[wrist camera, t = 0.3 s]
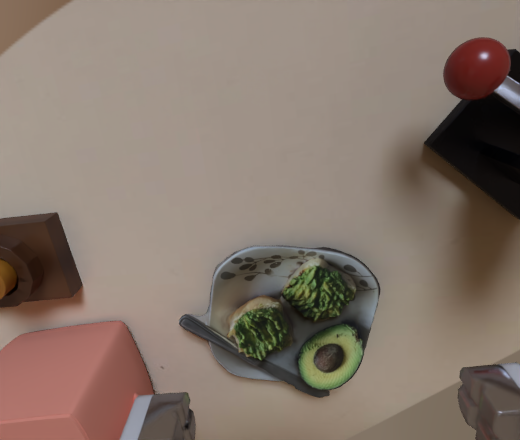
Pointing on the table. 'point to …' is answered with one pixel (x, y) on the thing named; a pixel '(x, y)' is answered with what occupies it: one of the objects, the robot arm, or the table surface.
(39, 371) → the teapot
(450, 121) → the bracket
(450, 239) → the table surface
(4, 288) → the button
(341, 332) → the plate of avocado toast
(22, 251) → the button block
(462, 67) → the lever
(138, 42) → the table surface
